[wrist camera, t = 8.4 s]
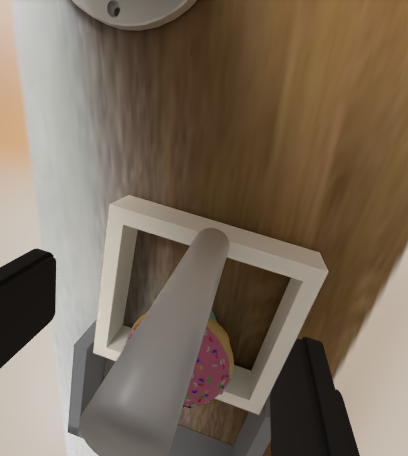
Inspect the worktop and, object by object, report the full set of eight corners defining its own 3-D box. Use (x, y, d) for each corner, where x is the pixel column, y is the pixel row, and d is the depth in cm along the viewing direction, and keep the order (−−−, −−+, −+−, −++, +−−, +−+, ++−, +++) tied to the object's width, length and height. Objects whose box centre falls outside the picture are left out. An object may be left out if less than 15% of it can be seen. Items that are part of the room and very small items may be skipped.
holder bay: (99, 316, 27) (74, 344, 24) (278, 379, 25) (280, 422, 22) (90, 397, 32) (67, 432, 28) (240, 456, 30) (237, 501, 26)
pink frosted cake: (148, 344, 27) (69, 490, 16) (149, 270, 24) (53, 386, 13) (232, 364, 26) (210, 538, 15) (245, 288, 23) (228, 434, 12)
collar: (130, 187, 21) (-141, 302, 7) (322, 245, 20) (478, 545, 5) (110, 330, 27) (-63, 555, 13) (259, 384, 25) (254, 711, 11)
